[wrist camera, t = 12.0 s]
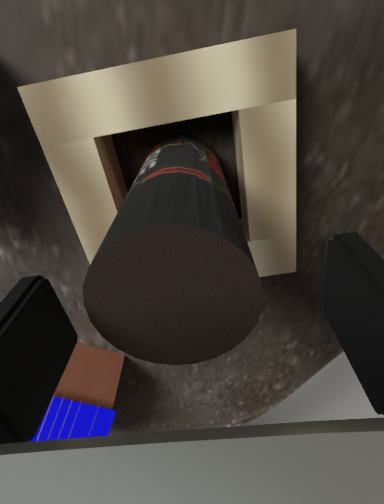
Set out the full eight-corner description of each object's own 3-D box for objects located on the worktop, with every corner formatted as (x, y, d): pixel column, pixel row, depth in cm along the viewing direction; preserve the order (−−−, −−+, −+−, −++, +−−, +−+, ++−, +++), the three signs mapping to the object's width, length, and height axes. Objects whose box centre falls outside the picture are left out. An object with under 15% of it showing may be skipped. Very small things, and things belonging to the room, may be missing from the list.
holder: (276, 37, 19) (296, 28, 15) (282, 245, 26) (296, 271, 23) (46, 85, 20) (17, 87, 16) (115, 271, 27) (104, 299, 24)
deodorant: (195, 224, 25) (202, 383, 12) (130, 188, 23) (58, 328, 10) (236, 162, 22) (301, 279, 10) (166, 117, 21) (130, 185, 8)
